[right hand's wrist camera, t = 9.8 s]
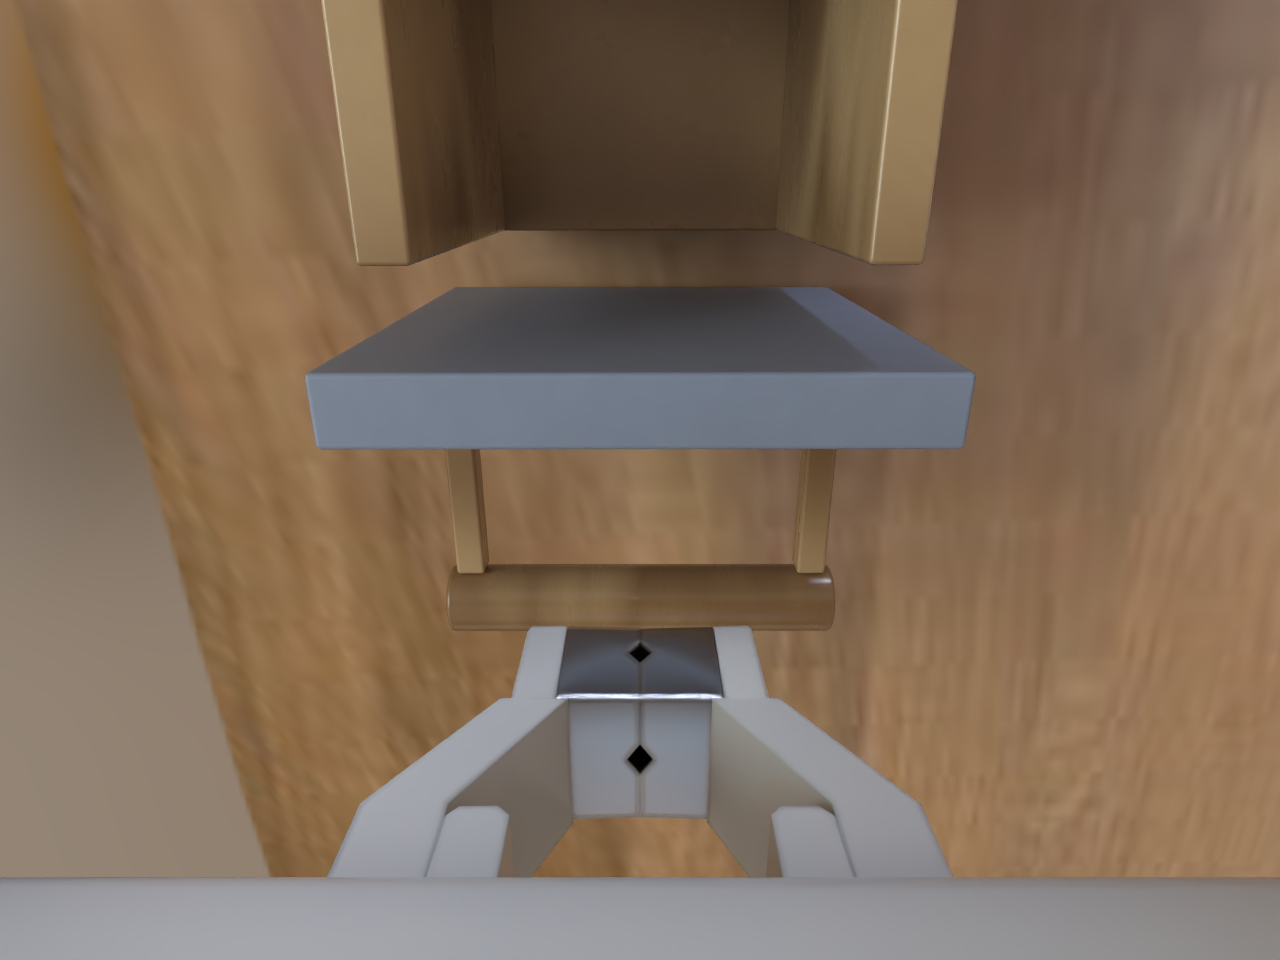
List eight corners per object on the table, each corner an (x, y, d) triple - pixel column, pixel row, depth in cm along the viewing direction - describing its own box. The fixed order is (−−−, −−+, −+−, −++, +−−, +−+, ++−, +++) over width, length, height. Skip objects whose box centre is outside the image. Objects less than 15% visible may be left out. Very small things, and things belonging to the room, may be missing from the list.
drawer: (807, 519, 22) (917, 744, 14) (474, 519, 22) (364, 744, 14) (892, -448, 15) (1271, -1393, 6) (387, -446, 15) (6, -1382, 6)
